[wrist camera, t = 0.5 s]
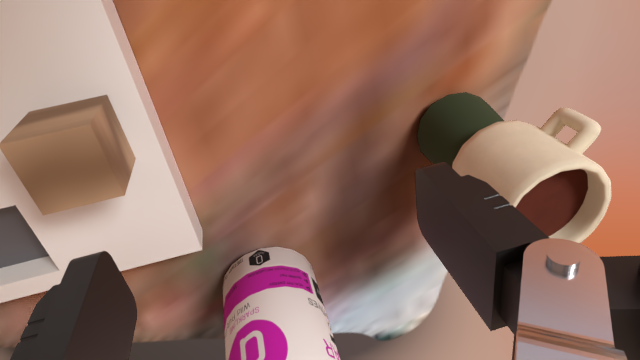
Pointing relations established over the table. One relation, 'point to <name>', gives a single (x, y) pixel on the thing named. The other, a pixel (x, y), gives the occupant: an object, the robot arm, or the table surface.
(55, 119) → the walnut block
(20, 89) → the board
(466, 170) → the character mug
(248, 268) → the supplement can
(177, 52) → the table surface
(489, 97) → the table surface
